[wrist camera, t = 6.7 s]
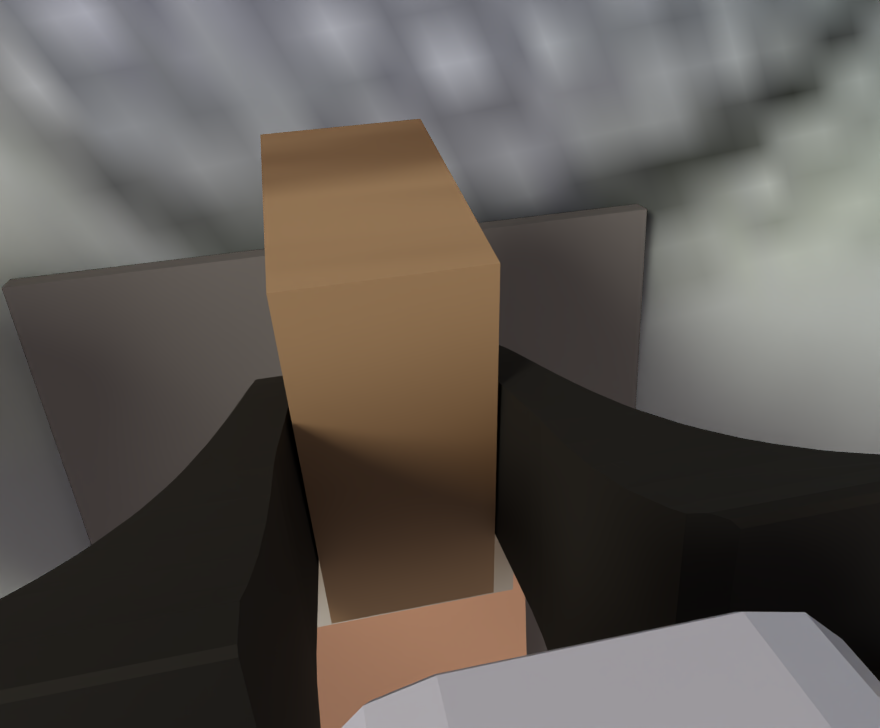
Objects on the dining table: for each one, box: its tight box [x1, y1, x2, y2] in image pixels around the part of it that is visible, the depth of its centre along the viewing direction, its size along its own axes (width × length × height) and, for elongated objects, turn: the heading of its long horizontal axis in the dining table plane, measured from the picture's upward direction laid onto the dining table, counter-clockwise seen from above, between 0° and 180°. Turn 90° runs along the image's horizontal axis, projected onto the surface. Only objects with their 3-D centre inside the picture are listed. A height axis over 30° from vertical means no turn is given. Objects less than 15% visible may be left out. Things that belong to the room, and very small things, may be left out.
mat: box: [2, 204, 647, 655], centre depth 23 cm, size 16×18×1 cm
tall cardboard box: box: [261, 119, 514, 627], centre depth 14 cm, size 12×6×5 cm, turn 4°
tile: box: [317, 574, 527, 728], centre depth 23 cm, size 8×2×10 cm
